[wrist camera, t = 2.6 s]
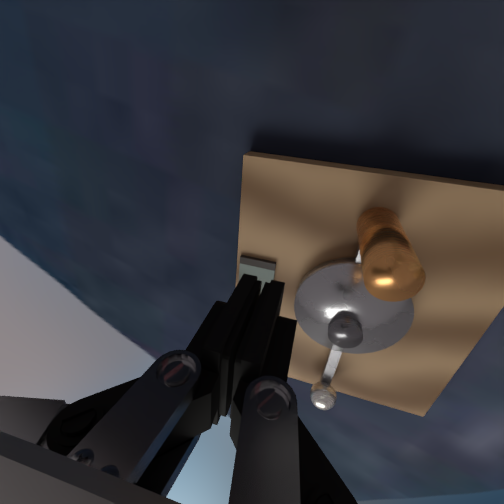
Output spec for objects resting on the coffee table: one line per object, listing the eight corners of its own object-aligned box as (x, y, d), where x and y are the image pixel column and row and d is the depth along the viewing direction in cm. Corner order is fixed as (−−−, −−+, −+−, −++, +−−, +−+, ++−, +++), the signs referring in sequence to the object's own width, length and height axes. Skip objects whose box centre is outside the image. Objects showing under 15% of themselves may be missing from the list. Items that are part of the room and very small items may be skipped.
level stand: (249, 151, 19) (241, 155, 17) (559, 193, 15) (584, 203, 14) (235, 348, 29) (230, 362, 27) (419, 400, 25) (424, 420, 24)
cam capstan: (366, 399, 24) (373, 479, 19) (279, 374, 26) (265, 441, 21) (456, 218, 15) (515, 277, 10) (316, 196, 17) (306, 237, 12)
